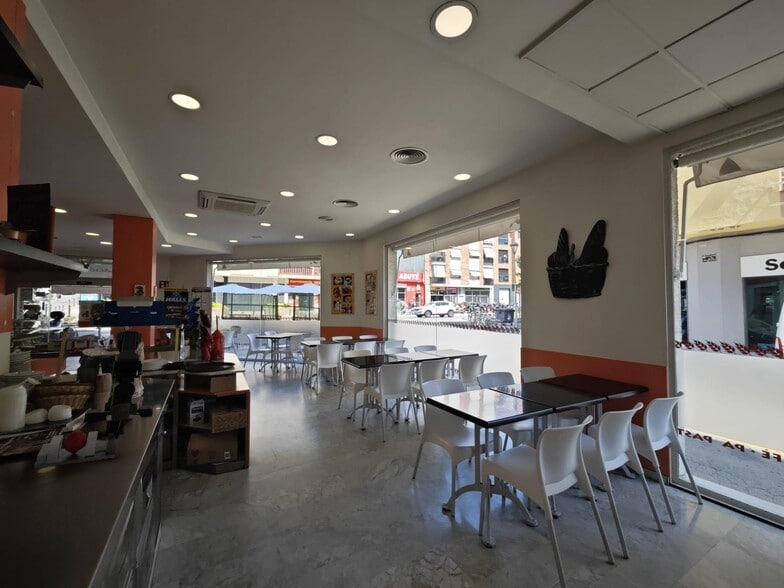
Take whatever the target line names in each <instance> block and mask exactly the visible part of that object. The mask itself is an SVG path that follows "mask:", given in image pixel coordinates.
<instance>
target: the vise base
mask: <svg viewBox="0 0 784 588" xmlns="http://www.w3.org/2000/svg"><path fill="white" fill-rule="evenodd" d="M63 439H64V434H62V435H61V434H59V435H53V436H52V438H51V440H50V442H49V443H43V445H42V446H41V448H40V451H39V452H38V454H37V457H36V460H35V461H36V462H35V463H34V466H33V467H34V469H37V468H38V469H39V468H46V467H54V466H62V465H70V464H79V463H86V462H94V461H95V460H96V461H103V460H102V459H104V460H109V459H108V458H112V459H115V457H116V443H113V448H112V452H108V453H106V450H101V451H95V452H94V455H91V456H84V455H85V449H86V446H84V447H83V448H82V449H80V450H79V451H78V452H77V453H74V454H73V453H70V452H68V451H66V450H65V449H64V448H62V446H63Z"/></svg>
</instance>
